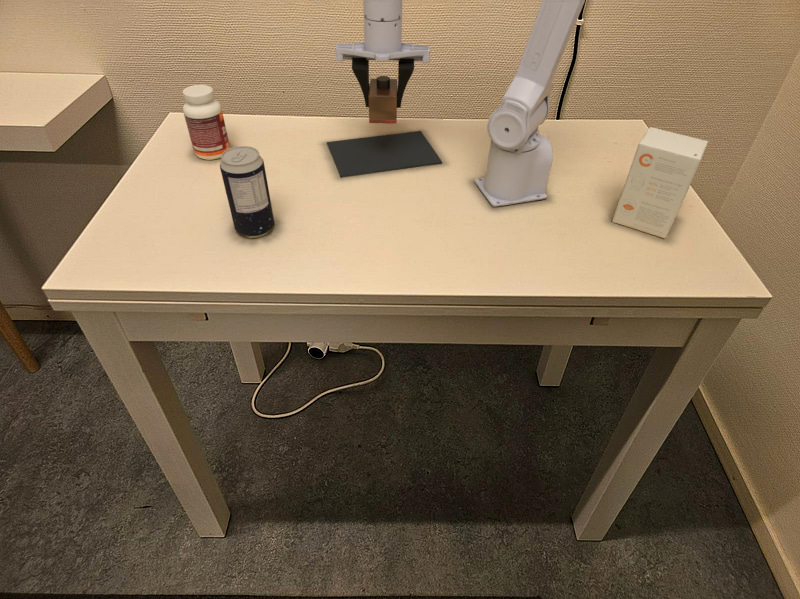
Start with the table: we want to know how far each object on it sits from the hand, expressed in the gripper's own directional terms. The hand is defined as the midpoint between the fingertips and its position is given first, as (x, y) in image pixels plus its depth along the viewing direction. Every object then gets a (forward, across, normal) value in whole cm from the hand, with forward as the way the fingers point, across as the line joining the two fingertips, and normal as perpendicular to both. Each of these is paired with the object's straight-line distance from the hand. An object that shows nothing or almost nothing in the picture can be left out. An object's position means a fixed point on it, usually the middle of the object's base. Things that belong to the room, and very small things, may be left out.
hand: (383, 105), depth 89 cm
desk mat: (+9, 0, 0) cm, 9 cm away
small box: (+9, +40, -19) cm, 45 cm away
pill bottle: (+9, -30, -1) cm, 31 cm away
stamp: (+2, 0, 0) cm, 2 cm away
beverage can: (+9, -18, -23) cm, 31 cm away
